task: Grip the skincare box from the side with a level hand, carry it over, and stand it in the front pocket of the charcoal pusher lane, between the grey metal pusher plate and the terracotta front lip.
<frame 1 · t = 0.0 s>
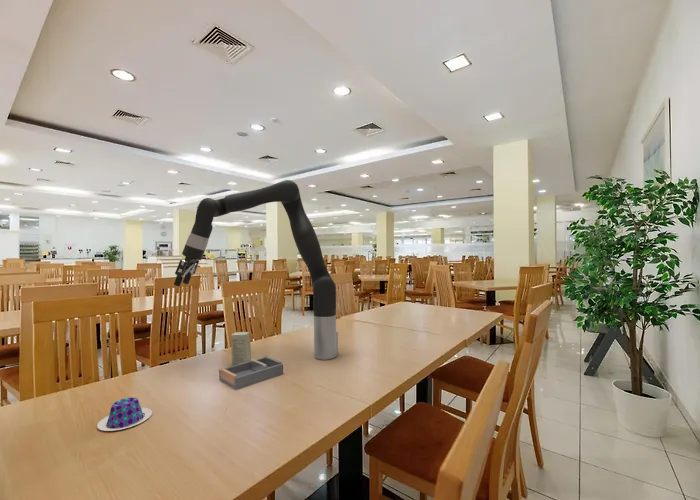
hand: (181, 284, 131), 31 cm above the table, tool tilted 20°, fingers open, 8 cm apart
pusher lane: (251, 376, 116), on the table
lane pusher: (258, 366, 118), point 3 cm above the table, slide at 0.0 cm
skincare box: (241, 364, 129), on the table
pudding: (125, 422, 87), on the table
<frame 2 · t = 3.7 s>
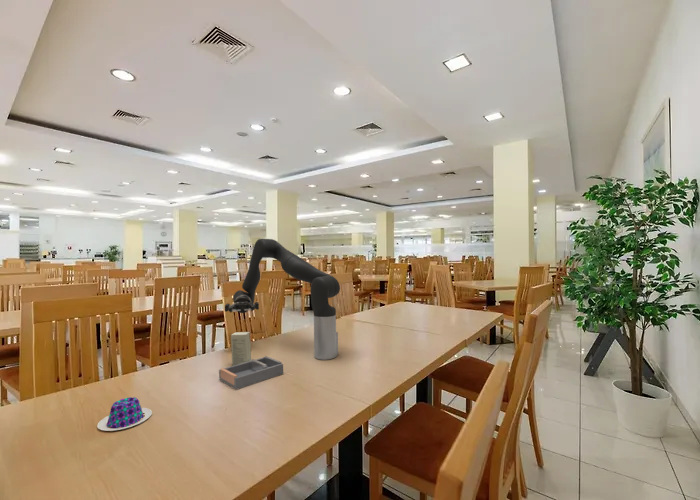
hand: (241, 309, 140), 20 cm above the table, tool horizontal, fingers open, 8 cm apart
nothing on the table moved.
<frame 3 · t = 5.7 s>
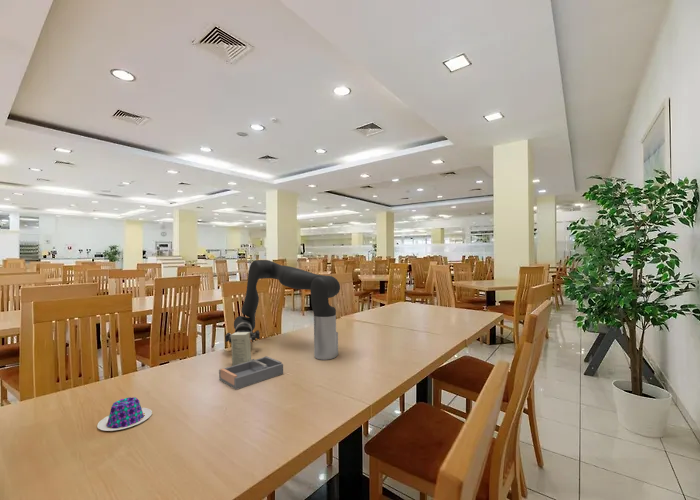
hand: (242, 340, 139), 7 cm above the table, tool horizontal, fingers open, 8 cm apart
nothing on the table moved.
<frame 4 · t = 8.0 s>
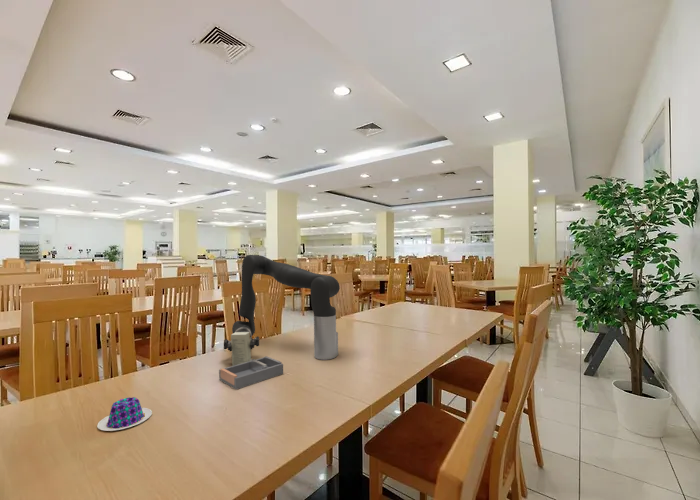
hand: (241, 347, 127), 7 cm above the table, tool horizontal, fingers closed on skincare box, 7 cm apart
skincare box: (241, 364, 129), on the table, touching gripper
everything else where it was.
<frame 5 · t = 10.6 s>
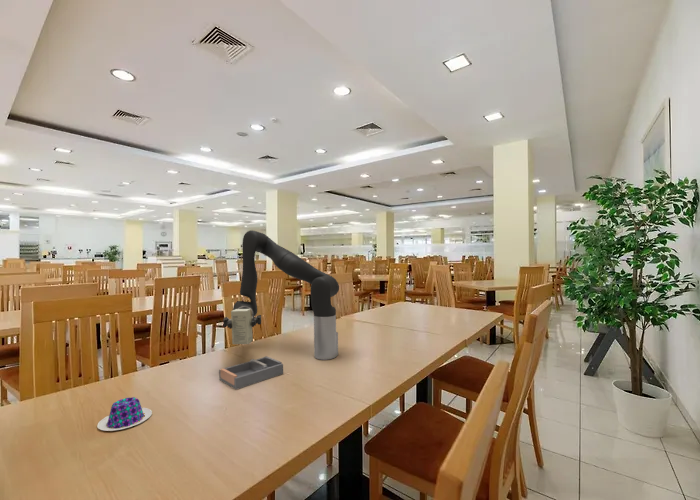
hand: (241, 325, 119), 18 cm above the table, tool horizontal, fingers closed on skincare box, 7 cm apart
skincare box: (242, 343, 121), point 10 cm above the table, touching gripper
when the fingers open (9 cm above the table, at t = 13.4 s): skincare box drops 1 cm, resting on pusher lane.
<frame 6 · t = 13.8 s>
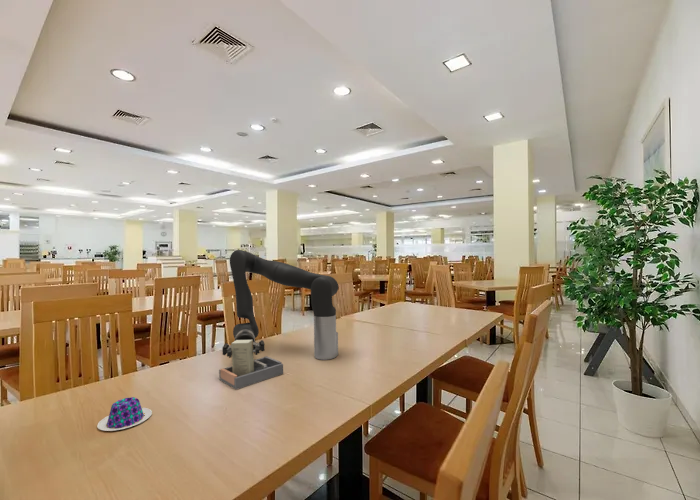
hand: (243, 353, 112), 10 cm above the table, tool horizontal, fingers open, 8 cm apart
skincare box: (243, 376, 114), point 1 cm above the table, touching pusher lane
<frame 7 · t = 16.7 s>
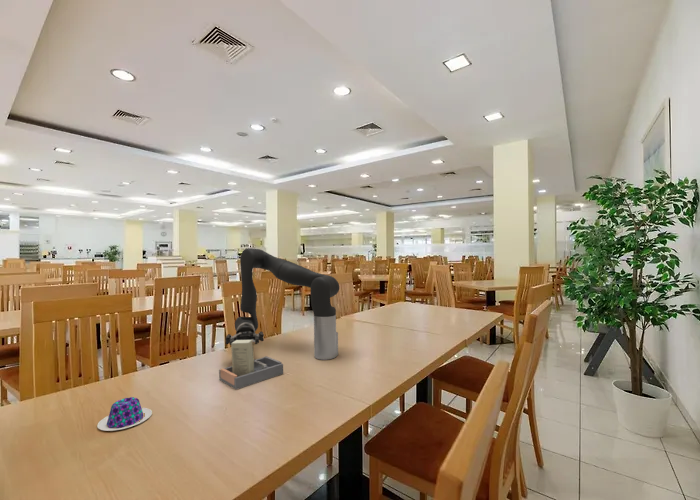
hand: (244, 342, 125), 10 cm above the table, tool horizontal, fingers open, 8 cm apart
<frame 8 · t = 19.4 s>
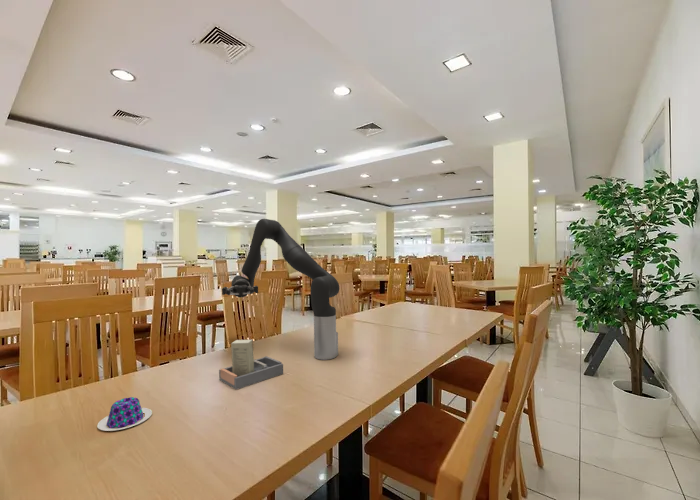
hand: (239, 292, 132), 28 cm above the table, tool horizontal, fingers open, 8 cm apart
at the end: skincare box inside the target area on the pusher lane (0.6 cm from its centre), point 0.8 cm above the pusher lane's base; skincare box tilted 0°; the gripper is holding nothing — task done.
